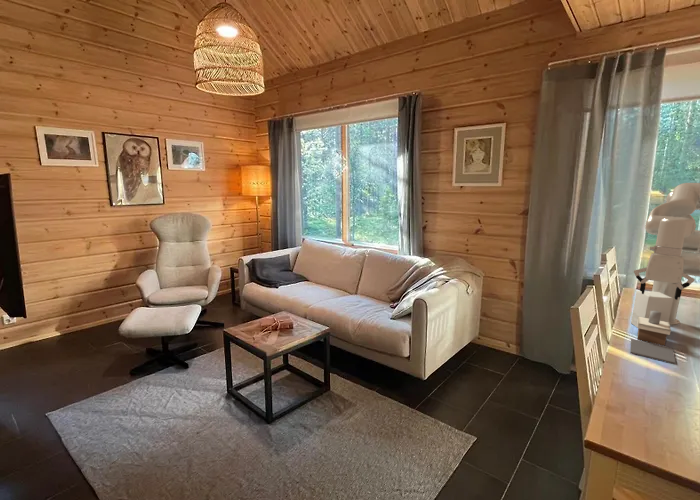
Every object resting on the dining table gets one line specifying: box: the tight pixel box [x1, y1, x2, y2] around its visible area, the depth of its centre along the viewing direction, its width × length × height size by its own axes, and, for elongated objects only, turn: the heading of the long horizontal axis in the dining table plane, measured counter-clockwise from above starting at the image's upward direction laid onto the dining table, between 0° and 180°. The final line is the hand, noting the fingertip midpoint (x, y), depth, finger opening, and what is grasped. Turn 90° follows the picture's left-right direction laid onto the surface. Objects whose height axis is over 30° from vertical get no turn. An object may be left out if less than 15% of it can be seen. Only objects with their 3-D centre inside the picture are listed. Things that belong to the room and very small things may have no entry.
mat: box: [629, 338, 676, 365], centre depth 130 cm, size 14×12×1 cm
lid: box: [636, 310, 672, 336], centre depth 138 cm, size 9×9×6 cm
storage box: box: [637, 328, 668, 346], centre depth 139 cm, size 8×8×6 cm
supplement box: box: [630, 289, 673, 328], centre depth 150 cm, size 9×9×15 cm
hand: (658, 295), depth 136 cm, fingers open, 9 cm apart
